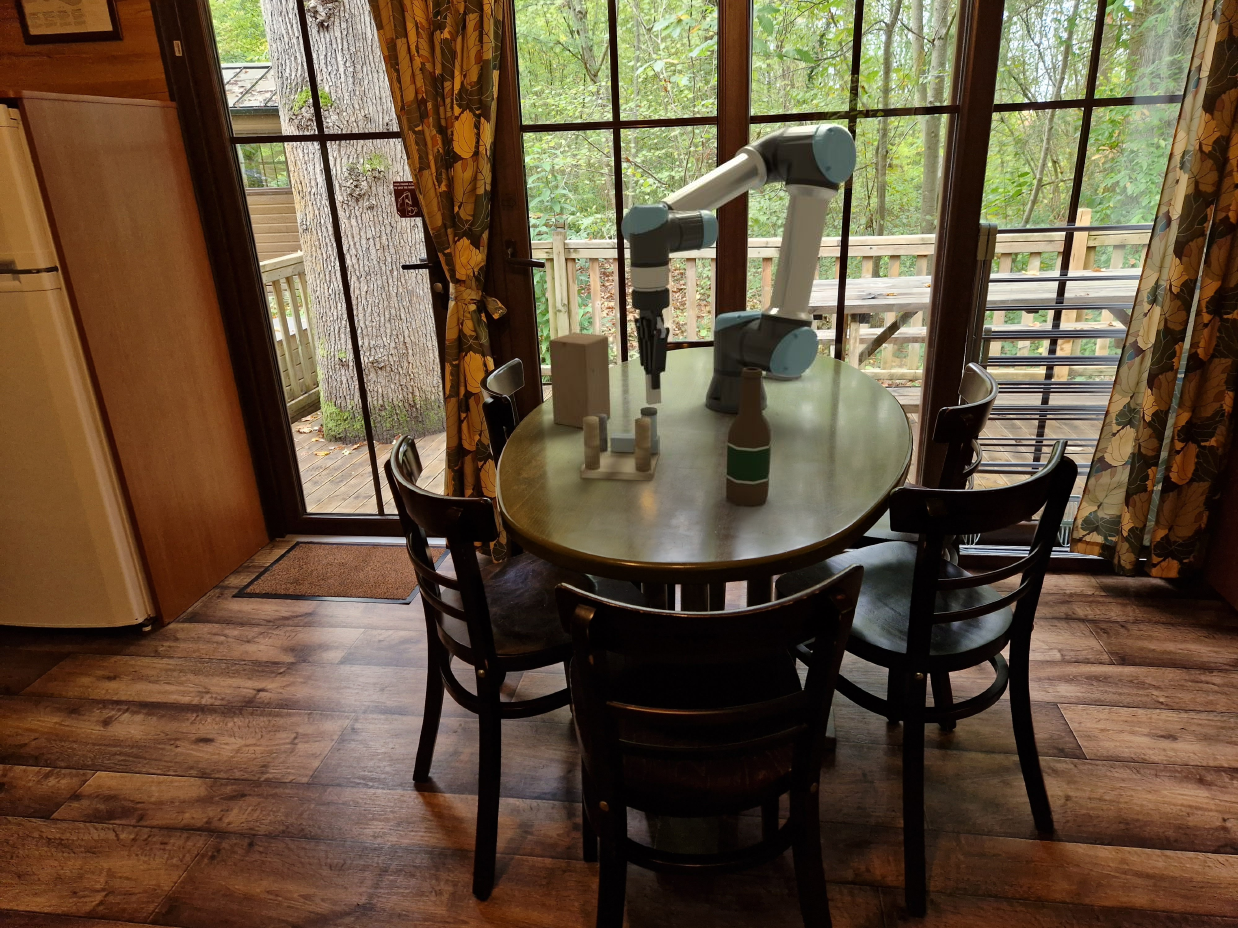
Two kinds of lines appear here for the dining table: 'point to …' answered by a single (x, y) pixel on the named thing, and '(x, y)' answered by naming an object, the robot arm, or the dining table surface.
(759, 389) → the beer bottle
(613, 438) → the hinged leg
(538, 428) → the dining table surface
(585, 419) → the wooden twin post stand
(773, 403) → the dining table surface
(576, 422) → the wooden block
